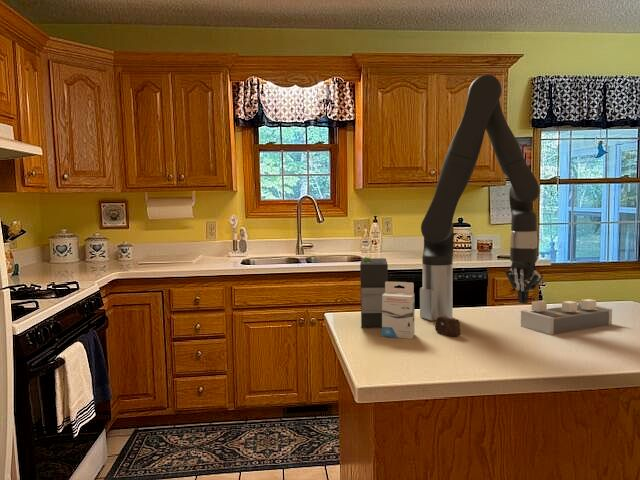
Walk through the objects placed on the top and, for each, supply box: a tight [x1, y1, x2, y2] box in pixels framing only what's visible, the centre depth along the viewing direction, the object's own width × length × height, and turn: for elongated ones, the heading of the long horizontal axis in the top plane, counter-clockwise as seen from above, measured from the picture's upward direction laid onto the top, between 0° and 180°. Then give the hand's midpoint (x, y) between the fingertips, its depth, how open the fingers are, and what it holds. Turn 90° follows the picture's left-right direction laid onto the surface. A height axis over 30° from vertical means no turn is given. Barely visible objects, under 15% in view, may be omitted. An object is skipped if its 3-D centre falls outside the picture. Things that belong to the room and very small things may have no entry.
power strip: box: [520, 301, 613, 335], centre depth 143 cm, size 24×10×5 cm, turn 113°
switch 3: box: [580, 298, 597, 310], centre depth 144 cm, size 3×2×2 cm
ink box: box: [381, 281, 415, 340], centre depth 136 cm, size 8×5×15 cm, turn 72°
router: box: [359, 256, 389, 329], centre depth 152 cm, size 8×18×20 cm, turn 174°
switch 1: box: [531, 300, 548, 312], centre depth 143 cm, size 3×2×2 cm
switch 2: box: [561, 300, 578, 312], centre depth 142 cm, size 3×2×2 cm
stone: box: [434, 316, 461, 337], centre depth 136 cm, size 8×3×5 cm, turn 33°
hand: (523, 302), depth 149 cm, fingers closed
